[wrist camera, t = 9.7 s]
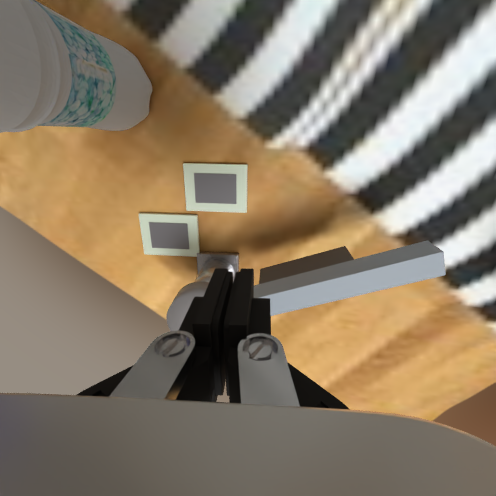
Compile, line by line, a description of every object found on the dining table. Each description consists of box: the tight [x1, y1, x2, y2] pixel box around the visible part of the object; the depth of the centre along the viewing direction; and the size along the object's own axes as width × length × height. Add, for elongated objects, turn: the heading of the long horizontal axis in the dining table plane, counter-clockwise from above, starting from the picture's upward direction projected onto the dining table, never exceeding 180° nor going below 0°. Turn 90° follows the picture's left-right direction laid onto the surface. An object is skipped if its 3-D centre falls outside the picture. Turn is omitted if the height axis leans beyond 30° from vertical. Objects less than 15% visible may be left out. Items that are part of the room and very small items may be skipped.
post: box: [195, 251, 239, 282], centre depth 27 cm, size 4×4×7 cm
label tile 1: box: [183, 163, 248, 213], centre depth 26 cm, size 4×6×1 cm
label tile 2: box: [139, 213, 200, 257], centre depth 29 cm, size 4×6×1 cm
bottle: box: [0, 0, 153, 133], centre depth 15 cm, size 7×7×20 cm
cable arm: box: [167, 241, 446, 331], centre depth 23 cm, size 21×5×6 cm, turn 109°
